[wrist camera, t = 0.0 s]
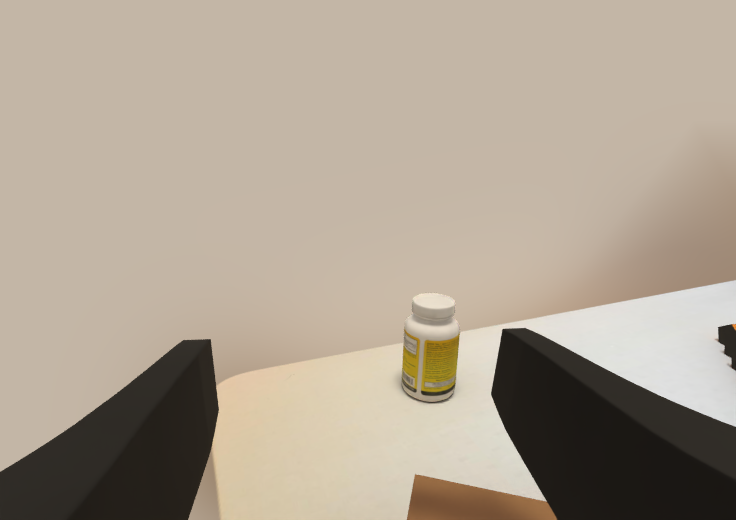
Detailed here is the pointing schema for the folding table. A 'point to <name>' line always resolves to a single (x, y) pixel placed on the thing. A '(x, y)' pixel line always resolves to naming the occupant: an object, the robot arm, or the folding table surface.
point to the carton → (470, 503)
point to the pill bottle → (430, 348)
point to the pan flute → (729, 341)
